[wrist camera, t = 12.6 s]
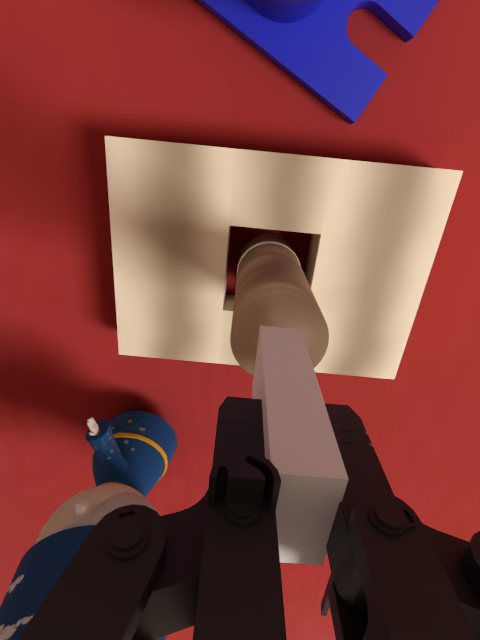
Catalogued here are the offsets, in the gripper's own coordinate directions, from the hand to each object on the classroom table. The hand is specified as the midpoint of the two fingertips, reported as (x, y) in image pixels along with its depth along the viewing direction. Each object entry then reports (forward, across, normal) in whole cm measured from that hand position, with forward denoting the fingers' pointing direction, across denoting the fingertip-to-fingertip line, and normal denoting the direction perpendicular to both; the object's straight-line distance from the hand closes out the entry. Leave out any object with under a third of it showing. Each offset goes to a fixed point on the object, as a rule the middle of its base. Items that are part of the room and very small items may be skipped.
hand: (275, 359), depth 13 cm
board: (+13, 0, 0) cm, 13 cm away
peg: (+13, 0, 0) cm, 13 cm away
